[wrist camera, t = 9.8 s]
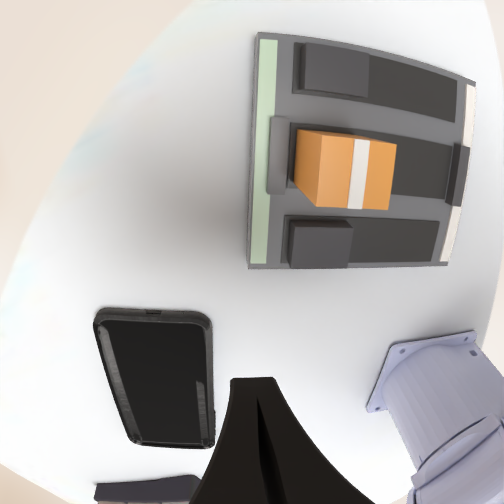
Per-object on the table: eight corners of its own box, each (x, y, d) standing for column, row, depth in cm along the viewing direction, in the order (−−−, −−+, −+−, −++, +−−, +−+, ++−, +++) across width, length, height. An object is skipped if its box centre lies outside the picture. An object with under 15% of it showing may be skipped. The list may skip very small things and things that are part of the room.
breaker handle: (356, 135, 14) (398, 144, 11) (351, 186, 15) (389, 210, 12) (297, 129, 14) (323, 135, 10) (293, 183, 15) (316, 207, 11)
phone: (130, 444, 24) (89, 313, 18) (132, 435, 25) (94, 303, 19) (216, 449, 25) (214, 319, 19) (216, 439, 26) (214, 308, 20)
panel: (463, 81, 15) (488, 82, 12) (437, 258, 20) (457, 274, 17) (255, 37, 13) (260, 25, 11) (246, 259, 18) (250, 280, 16)
